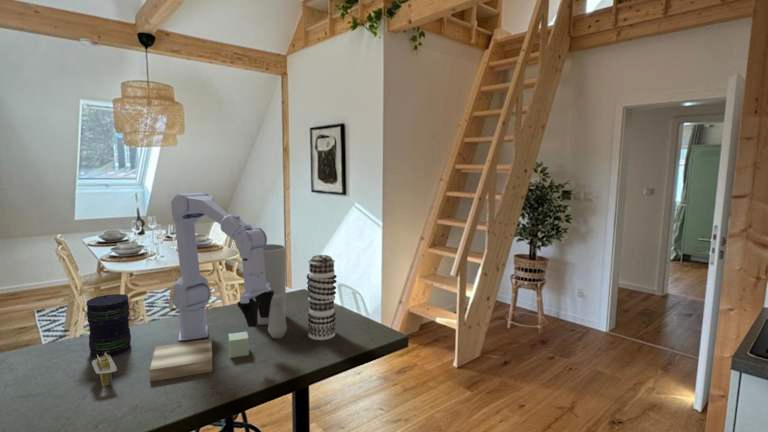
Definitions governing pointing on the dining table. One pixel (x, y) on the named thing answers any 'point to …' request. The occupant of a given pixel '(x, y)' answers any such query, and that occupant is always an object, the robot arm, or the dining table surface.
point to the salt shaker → (277, 317)
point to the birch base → (181, 360)
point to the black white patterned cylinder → (321, 297)
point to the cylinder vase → (274, 274)
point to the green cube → (238, 344)
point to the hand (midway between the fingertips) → (258, 321)
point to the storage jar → (109, 325)
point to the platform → (104, 368)
